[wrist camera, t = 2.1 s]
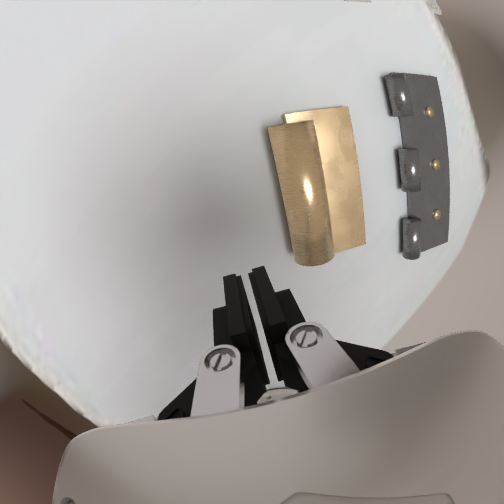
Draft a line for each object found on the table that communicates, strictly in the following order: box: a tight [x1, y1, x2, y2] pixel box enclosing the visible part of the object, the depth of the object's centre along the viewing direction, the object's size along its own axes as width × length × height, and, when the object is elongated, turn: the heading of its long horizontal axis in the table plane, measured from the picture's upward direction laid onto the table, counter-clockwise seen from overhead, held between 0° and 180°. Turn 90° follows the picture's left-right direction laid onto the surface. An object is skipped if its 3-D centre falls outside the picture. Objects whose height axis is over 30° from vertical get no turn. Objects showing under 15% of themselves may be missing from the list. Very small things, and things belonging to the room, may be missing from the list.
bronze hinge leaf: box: [267, 106, 366, 266], centre depth 26 cm, size 16×9×4 cm, turn 13°
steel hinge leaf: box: [384, 72, 450, 260], centre depth 27 cm, size 24×10×3 cm, turn 13°
